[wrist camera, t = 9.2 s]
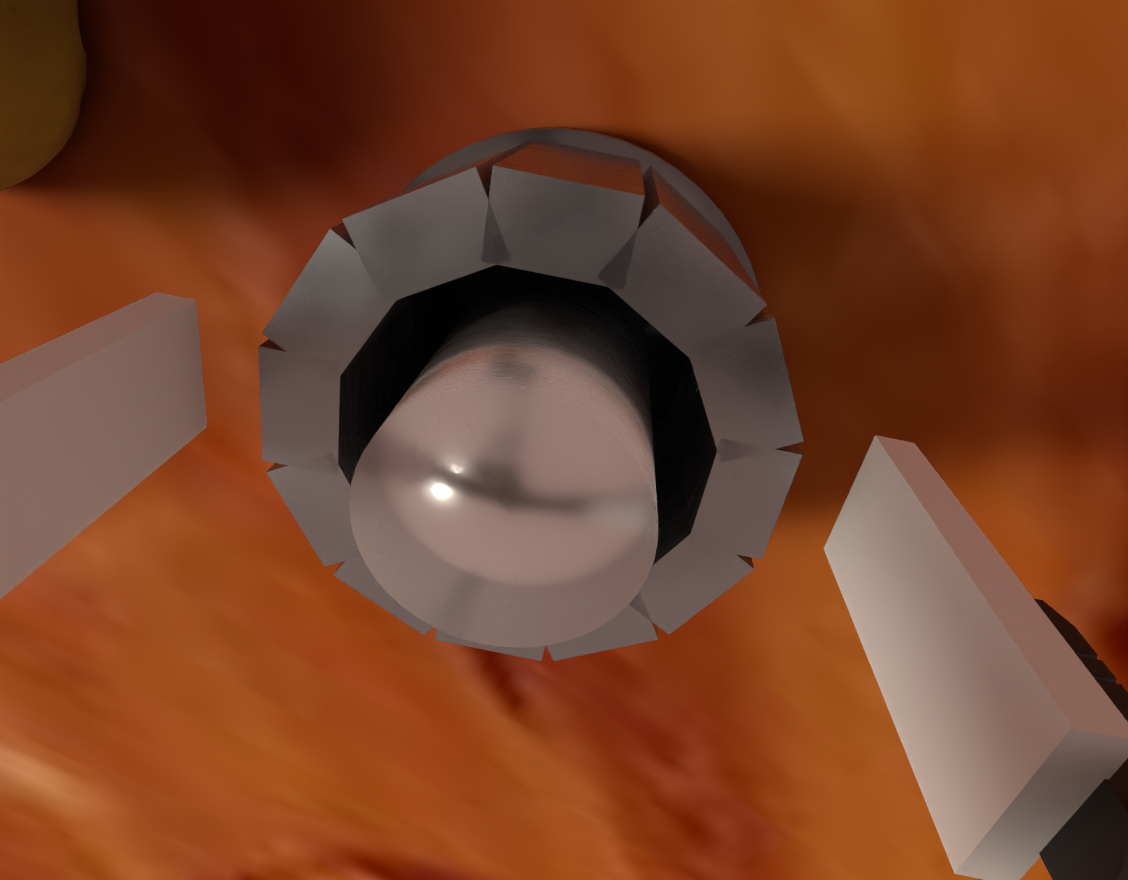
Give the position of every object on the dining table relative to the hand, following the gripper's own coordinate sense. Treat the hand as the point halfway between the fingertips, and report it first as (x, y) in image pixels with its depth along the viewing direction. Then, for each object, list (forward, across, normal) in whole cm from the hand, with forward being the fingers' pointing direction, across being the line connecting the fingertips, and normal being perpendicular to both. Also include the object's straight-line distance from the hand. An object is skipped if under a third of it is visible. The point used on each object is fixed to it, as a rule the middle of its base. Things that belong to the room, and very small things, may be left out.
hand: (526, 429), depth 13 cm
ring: (+5, 0, 0) cm, 5 cm away
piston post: (+6, 0, 0) cm, 6 cm away
